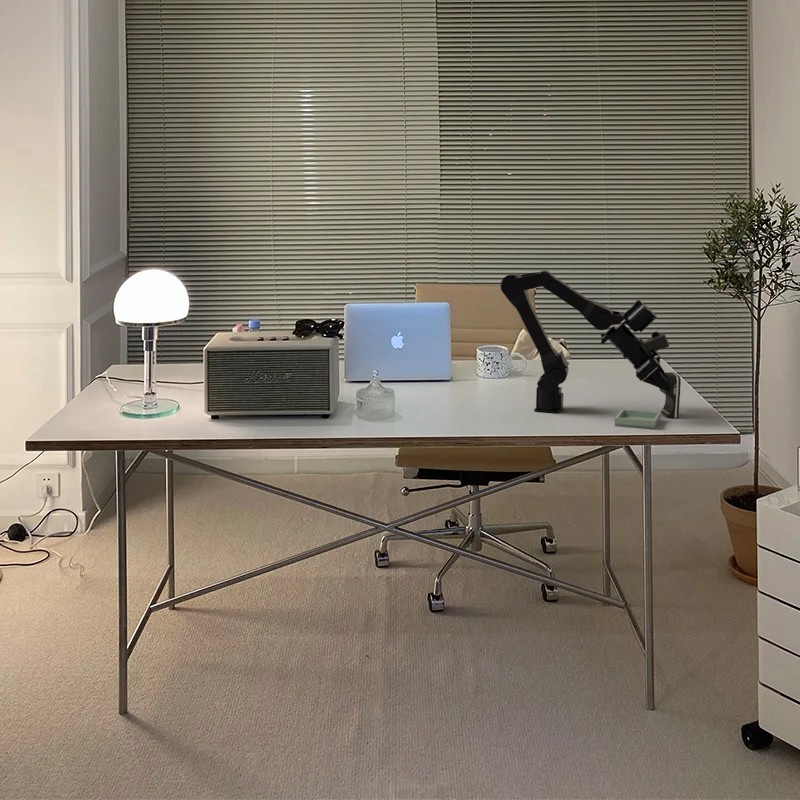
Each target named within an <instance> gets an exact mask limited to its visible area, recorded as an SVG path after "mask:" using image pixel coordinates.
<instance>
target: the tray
mask: <svg viewBox="0 0 800 800" xmlns="http://www.w3.org/2000/svg"><path fill="white" fill-rule="evenodd" d="M661 419H662V413H661V411H660V412H659V411H657V412H656V411H647V410H646V411H645V410H635V409H633V410H632V409H621V410H620V411H619V412H618V414H617V415H616V416H615V417H614V426H615V427H623V428H636V429H648V430H656V428H657V426H658V425H659V424H660V422H661V421H660V420H661Z"/></svg>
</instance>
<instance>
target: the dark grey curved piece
mask: <svg viewBox="0 0 800 800" xmlns="http://www.w3.org/2000/svg"><path fill="white" fill-rule="evenodd" d="M662 376H663V377H664V379H665V380H666V382H667V383H668V384H669V386H670V387H671V390H670V391H669V392H668V391H665V390H663V389H661V388H658V390H659V392H661V393H662V394H664V395H665V401H664V405H663V408H662V409H661V410H660V413H661V415H663V416H664V417H666V418H670V419H672V418H673V419H678V418H679V415H680V414H679V412H680V402H681V401H680V400H681V399H680V398H681V384H682V380H681V376H680V375H679V374H677V373H675V372H673V371H670V372H665V373H663V374H662Z"/></svg>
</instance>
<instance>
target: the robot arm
mask: <svg viewBox="0 0 800 800" xmlns="http://www.w3.org/2000/svg"><path fill="white" fill-rule="evenodd" d="M499 287H500V291H501V292H502V294H503V295H504V296H505V298H506V300H508V301H509V302H510V303H511V305H512V306H513V307H514V308H515V309H516V310H517V311H516V312H518V314H519V317H520V318H521V321H522V323H523V324H524V327H525V328H526V330H527V332H528V334H529V337H530V338H531V340H532V342H533V344H534V346H535V349H536V350H537V352H538V354H539V358H540V362H541V366H542V369H543V373H542V375H540V377H539V379H538V381H537V384H536V385H537V387H536V393H535V394H536V395H535V396H536V399H535V408H534V409H533V411H534V412H542V413H553V414H554V413H555V414H558V413H559V412H560V411H561V410H563V408H564V393H563V391H562V389H563V387H562V386H560V385H561V384H563V383H564V382H565V381H566V380H567V376H568V374H569V365H570V362H569V361H568V360H567V359H566V357H565V354H564V351H563V350H561V351H559V352H558V351H557V350H556V349H555V348H554V347H553V345H552V343H551V341H550V339H549V337H548V334H547V333H546V331H545V329H544V326H543V325H542V323H541V321H540V320H539V317H538V315H537V313H536V311H535V308H534V307H533V305H532V304H531V300H530V297H529V291H528V290H531V289H535V288H540V287H542V288H545V290H547V291H549V292H550V293H552V294H553V295H554V296H556V297H557V298H559V299H560V300H562V301H564V303H566V304H568V305H569V306H570V307H573V308H574V309H575V310H576V311H578V313H580V314H581V316H582V317H583V318H584V319H585V320H587V322H588V323H589V324H591V326H592V327H594V329H596V330H598V331H604V330H607V331H605V332H601V333H600V337H601V339H600V340H601V341H600V343H601V345H604V344H605V343H606V342H608V341H609V342H610V343H611V344H612V345H613V346H614V347H615V348H616V350H617V351H619V352H620V353H621V355H622V357H623V358H624V359H627V360H628V362H629V363H631V365H632V366H633V369H635V377H636V378H637V379H638V380H639V381H640V382H642V383H645V384H648V385H651V386H654V387H656V388H658V389H659V388H661V389H663V390H665V391H668V392H669V391H670V390H671V387H670V386H669V384H668V383H667V382H666V380H665V379H664V377H663V376H662V374H663V373H666V371H665V370H664V369H663V367H662V365H661V355H660V353H659V350H662V349H666V348H669V347H670V343H669V340H668V338H667V336H666V334H665V333H663V332H662V333H660V332H659V331H657V330H655V331H653V332H652V333H651V337H650V338H647V340H645V341H644V340H643V339H642V338H641V337H640V338H638V336H637V335H636V334H634V333H633V332H635V333H637V332H639V333H642V332H643V331H645V330H646V329H647V328H648V327H649V326H650V325H651V324H652V323H653V322H654V321H655V320H656V319H658V315H656V313H655V312H654V311H653V310H652V309H651V308H650V307H649V306H647V305H646V304H645V303H644V302H642V301H641V300H640V299H637V300H636V301H635V302H634V303H633V304H632V306H630V308H628V309H627V310H626V311H625V312H624V311H623V312H622V311H617V310H612V308H610V307H609V306H607V305H605V304H603V303H601V302H598V301H595V300H593V299H590V298H587V297H586V296H585V295H583V294H582V293H580V292H579V291H577V290H576V289H574V288H572V287H571V286H570V285H568V284H567V283H565V282H564V281H562V280H561V279H559V278H558V277H557V276H555V275H553V273H552V272H550V271H549V270H541V271H537V272H531V273H530V272H529V273H523V274H521V273H517V272H510V273H508V274H507V275H506V276H504V277H503V278H502V279H501V282H500V286H499ZM618 324H619V325H618ZM615 325H617V326H615ZM626 325H627V326H626ZM630 329H631V330H632V331H633V332H632V331H631V330H630Z"/></svg>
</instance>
